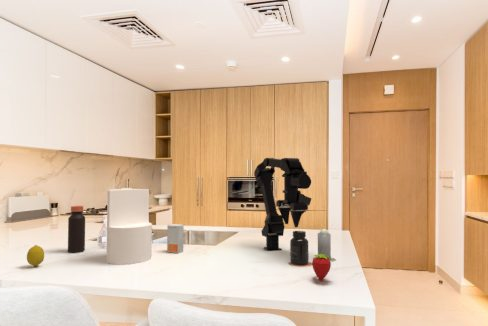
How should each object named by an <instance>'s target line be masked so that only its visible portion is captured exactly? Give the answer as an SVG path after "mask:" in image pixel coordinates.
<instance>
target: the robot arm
mask: <svg viewBox="0 0 488 326" xmlns="http://www.w3.org/2000/svg"><path fill="white" fill-rule="evenodd" d="M269 167H270V168H269ZM275 168H278V169H280V170H281V171H283V172H284V173H283V174H282V175H281V178H284V179H283V180H284V181H283V183H284V187H283V189H284V190H282V193H283V194H284V196H283V197H284V199H278V200H276V201H275V197H274V191H273V187H272V182H273V180H274V179H273V178H274V177H273V176H274V174H275V173H276V172H275V171H276V169H275ZM253 174H254V178H255V181H256V183H257V184H258V185H259V186H260V189H261V193H262V198H263V203H264V209H265V212H266V213H265V214H266V216H265V219H264V226H263V227H262V229H261V235H262V236H263V237H265V238H266V239H265V240H266V242H265V243H266V244H265V246H263V249H264V250H266V251H268V252H272V251H275V252H276V251H282V248H280V246H279V245H280V240H279V237H283V236H284V231H285V225H289V221H290V217H291V219H292V222H293V226H294V228H298V227H299V224H300V221H301V218H302V215H304V213H306V212H307V211H309V206H310V205H311V201H312V198H311V197H310V196H306V195H305V194H303V193H302V192H301V190H302V189H303V190H306V189H309V188H310V186H311V184H312V180H311V177H310V175H308V172H307V171H305V168H304V167H303V165H302V163H301V161H300V158H298V157H284V158H274V157H266V158H264V159H263V161H262V162H261V163H259V164H258V165H257V166H256V168H255V169H254V172H253ZM299 189H300V190H299ZM277 209H278V211H279V213H280V214H279V213H278V211H277ZM290 215H291V216H290Z"/></svg>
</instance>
